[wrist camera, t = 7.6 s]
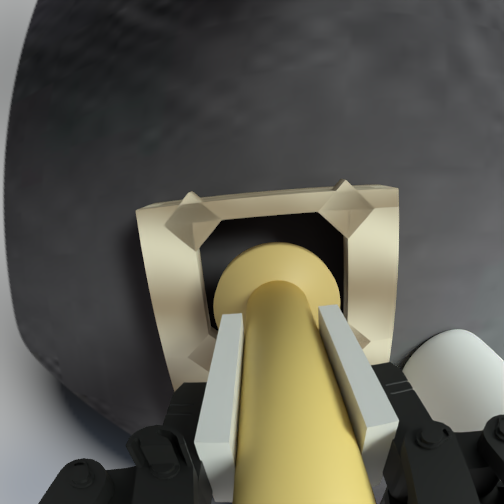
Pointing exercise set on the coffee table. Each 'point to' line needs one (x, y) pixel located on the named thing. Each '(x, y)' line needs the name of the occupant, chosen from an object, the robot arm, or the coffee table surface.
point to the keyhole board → (266, 204)
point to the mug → (458, 380)
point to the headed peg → (289, 383)
